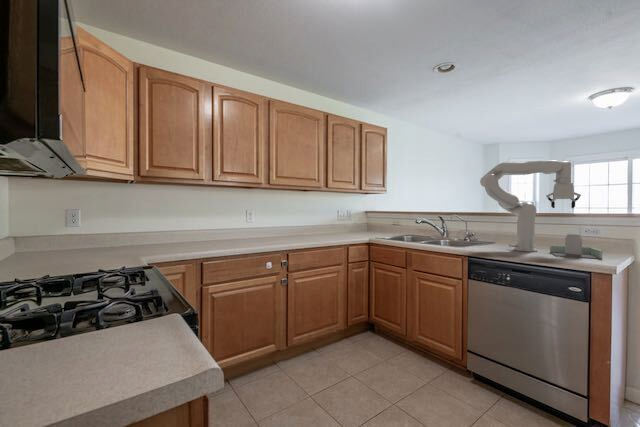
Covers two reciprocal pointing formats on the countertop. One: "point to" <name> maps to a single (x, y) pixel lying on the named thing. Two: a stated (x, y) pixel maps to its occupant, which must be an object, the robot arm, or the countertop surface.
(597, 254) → the arena
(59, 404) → the countertop surface
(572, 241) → the can
